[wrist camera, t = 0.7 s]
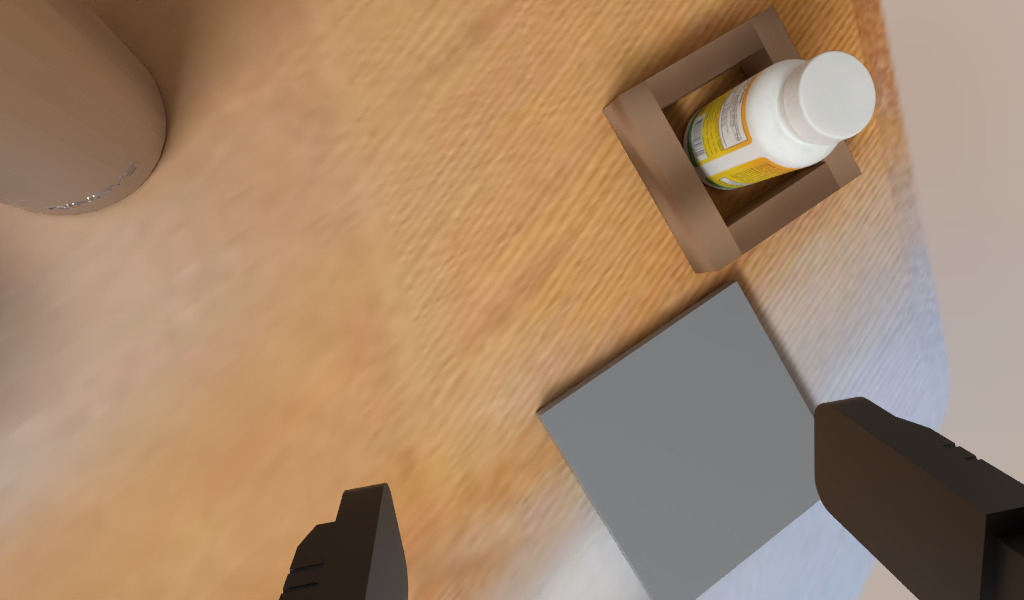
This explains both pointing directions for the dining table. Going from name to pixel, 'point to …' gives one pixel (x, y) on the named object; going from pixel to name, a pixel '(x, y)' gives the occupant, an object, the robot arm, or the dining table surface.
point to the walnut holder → (675, 176)
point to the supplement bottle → (779, 120)
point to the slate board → (691, 445)
